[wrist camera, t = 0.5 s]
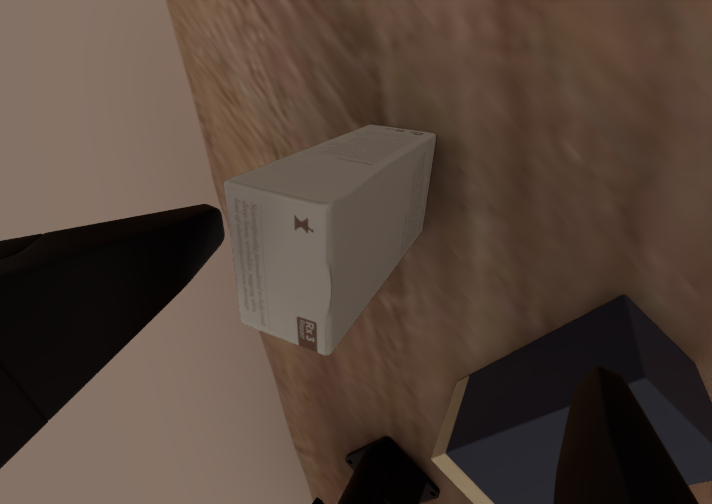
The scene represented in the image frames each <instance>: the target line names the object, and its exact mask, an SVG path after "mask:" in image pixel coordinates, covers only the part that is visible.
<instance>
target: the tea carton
mask: <svg viewBox="0 0 712 504" xmlns="http://www.w3.org/2000/svg"><path fill="white" fill-rule="evenodd" d="M596 366H602V367H604V368H607V369H609V370H611V371H614V372H616V373H619V374H620V375H621V376H622V377H623V378H624V379H625V381H626V382H627V384H628V386H629V388H630V389H631V391H632V393H633V394H634V396H635V398H636V399H637V401H638V403H639V404H640V406H641V408H642V409H643V411H644V413H645V414H646V416H647V418H648V419H649V421H650V423H651V424H652V426H653V428H654V429H655V431H656V433H657V434H658V436H659V438H660V440H661V441H662V443H663V445H664V446H665V448H666V450H667V451H668V453H669V455H670V456H671V458H672V460H673V461H674V463H675V465H676V466H677V468H678V470H679V471H680V473H681V475H682V476H683V478H684V480H685V481H686V483H687V485H692V484H697V483H702V482H707V481H712V402H711V400H710V397H709V395H708V393H707V390H706V388H705V386H704V383H703V381H702V379H701V376H700V374H699V372H698V369H697V367H696V365H695V363H694V362H693V361H692V360H691V359H690V358H689V357H688V356H687V355H686V354H685V353H684V352H683V351H682V350H681V349H680V348H679V347H678V346H677V345H676V344H675V343H674V342H673V341H672V340H671V339H669V338H668V337H667V336H666V335H665V334H664V333H663V332H662V331H661V330H660V329H659V328H658V327H657V326H656V325H655V324H654V323H653V322H652V321H651V320H650V319H649V318H648V317H647V316H646V315H645V314H644V313H643V312H642V311H641V310H640V309H639V308H638V307H637V306H636V305H635V304H634V303H633V302H632V301H631V300H630V299H629V298H628V297H627V296H626V295H622V296H620V297H619V298H617V299H615V300H613V301H611V302H609V303H607V304H605V305H603V306H601V307H599V308H597V309H596V310H594V311H592V312H590V313H588V314H586V315H584V316H582V317H580V318H578V319H576V320H575V321H573V322H571V323H569V324H567V325H565V326H563V327H561V328H559V329H557V330H555V331H554V332H552V333H550V334H548V335H546V336H544V337H542V338H540V339H538V340H536V341H534V342H533V343H531V344H529V345H527V346H525V347H523V348H521V349H519V350H517V351H515V352H513V353H512V354H510V355H508V356H506V357H504V358H502V359H500V360H498V361H496V362H494V363H492V364H491V365H489V366H487V367H485V368H483V369H481V370H479V371H477V372H475V373H473V374H471V375H470V376H467V377H466V378H464V379H462V380H460V381H458V382H457V383H456V386H455V389H454V392H453V395H452V398H451V401H450V404H449V407H448V409H447V412H446V415H445V418H444V421H443V424H442V427H441V430H440V433H439V436H438V439H437V442H436V444H435V447H434V450H433V453H432V456H431V460H432V461H433V462H434V463H435V464H436V465H437V466H438V467H439V469H440V470H441V471H442V472H443V473H444V474H445V475H446V476H447V477H448V478H449V479H450V480H451V481H452V482H453V483H454V484H455V485H456V486H457V487H458V488H459V489H460V490H461V491H462V492H463V493H464V494H465V495H466V496H467V497H468V498H469V500H470V501H471V502H472V503H473V504H553V503H554V490H555V479H556V471H557V466H558V460H559V456H560V451H561V446H562V441H563V437H564V432H565V427H566V423H567V418H568V413H569V408H570V404H571V399H572V396H573V393H574V391H575V390H576V388H577V387H578V386H579V384H580V383H581V382H582V381H583V380H584V378H585V377H586V376H587V375H588V373H589V372H590V371H591V370H592V369H593V368H594V367H596Z"/></svg>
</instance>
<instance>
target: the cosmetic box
mask: <svg viewBox="0 0 712 504" xmlns="http://www.w3.org/2000/svg"><path fill="white" fill-rule="evenodd" d="M435 143H436V134H434V133H429V132H422V131H415V130H409V129H401V128H394V127H387V126H379V125H367V126H365V127H363V128H360V129H358V130H355V131H352V132H349V133H346V134H344V135H342V136H339V137H336V138H334V139H331V140H328V141H326V142H323V143H321V144H318V145H316V146H313V147H310V148H308V149H305V150H303V151H300V152H297V153H294V154H292V155H289V156H287V157H284V158H282V159H279V160H276V161H274V162H271V163H269V164H266V165H264V166H262V167H259V168H256V169H253V170H250V171H248V172H245V173H242V174H240V175H237V176H234V177H232V178H230V179H228V180H226V181H225V182H224V190H225V197H226V205H227V213H228V221H229V229H230V236H231V245H232V252H233V260H234V268H235V276H236V284H237V292H238V300H239V308H240V318H241V322H242V323H243V324H245V325H247V326H250V327H252V328H255V329H257V330H259V331H262V332H265V333H267V334H270V335H273V336H275V337H278V338H281V339H283V340H286V341H288V342H291V343H294V344H297V345H299V346H302V347H305V348H307V349H310V350H313V351H316V352H318V353H320V354H322V355H326V356H327V355H330V354H331V353H332V352H333V350H334V349H335V348H336V346H337V345H338V344H339V342H340V341H341V340H342V338H343V337H344V336H345V334H346V333H347V332H348V330H349V329H350V328H351V326H352V325H353V324H354V322H355V321H356V320H357V318H358V317H359V316H360V314H361V313H362V312H363V310H364V309H365V308H366V306H367V305H368V303H369V302H370V301H371V299H372V298H373V297H374V295H375V294H376V293H377V291H378V290H379V289H380V287H381V286H382V285H383V283H384V282H385V281H386V279H387V278H388V276H389V275H390V274H391V272H392V271H393V270H394V268H395V267H396V266H397V264H398V263H399V262H400V260H401V259H402V258H403V256H404V255H405V253H406V252H407V251H408V250H409V248H410V247H411V246H412V244H413V243H414V242H415V240H416V239H417V238H418V236H419V235H420V233H421V232H422V230H423V223H424V216H425V210H426V203H427V196H428V189H429V183H430V176H431V169H432V163H433V156H434V150H435Z"/></svg>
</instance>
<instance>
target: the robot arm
mask: <svg viewBox="0 0 712 504" xmlns="http://www.w3.org/2000/svg"><path fill="white" fill-rule="evenodd" d="M224 234H225V233H224V227H223V220H222V214H221V212H220V210H219V209H217V208H215V207H213V206H210V205H207V204H201V205H196V206H190V207H185V208H179V209H174V210H168V211H163V212H157V213H152V214H146V215H141V216H135V217H130V218H125V219H119V220H114V221H108V222H103V223H97V224H92V225H86V226H81V227H75V228H70V229H65V230H59V231H54V232H48V233H45V234H38V235H31V236H26V237H21V238H14V239H9V240H3V241H0V468H1V467H3V466H4V464H6V463H7V462H8V461H9V460H10V459H11V458H12V457H13V456H14V455H15V454H16V453H17V452H18V451H19V450H20V449H21V448H22V447H23V446H24V445H25V444H26V443H27V442H28V441H29V440H30V439H31V438H32V437H33V436H34V435H35V434H36V433H37V432H38V431H39V430H40V429H41V428H42V427H43V426H44V425H45V424H46V423H47V422H48V420H50V419H51V418H52V417H53V416H54V415H55V414H56V413H57V412H58V411H59V410H60V409H61V408H62V407H63V406H64V405H65V404H66V403H67V402H68V401H69V400H70V399H71V398H73V397H74V396H75V395H76V394H77V392H79V391H80V390H81V389H82V388H83V387H84V386H85V385H86V384H87V383H88V382H89V381H90V380H91V379H92V378H93V377H94V376H95V375H96V374H97V373H98V372H99V371H100V370H101V369H102V368H103V367H104V366H105V365H106V364H107V363H108V362H109V361H110V360H111V359H112V358H113V357H114V356H115V355H116V354H117V353H118V352H119V351H120V350H121V349H122V348H123V347H124V346H125V345H127V344H128V343H129V342H130V340H132V339H133V338H134V337H135V336H136V335H137V334H138V333H139V332H140V331H141V330H142V329H143V328H144V327H145V326H146V325H147V324H148V323H149V322H150V321H151V320H152V319H153V318H154V317H155V316H156V315H157V314H158V313H159V312H160V311H161V310H162V309H163V308H164V307H165V306H166V305H167V304H168V303H169V302H170V301H171V300H172V299H173V298H174V297H175V296H176V295H177V294H179V292H181V291H182V289H183V288H184V287H185V286H186V285H187V284H188V283H189V282H190V281H191V279H193V277H194V276H195V275H196V274H197V273H198V271H199V270H200V269H201V268H202V267H203V265H204V264H205V263H206V262H207V261H208V259H209V258H210V257H211V256H212V255H213V253H214V252H215V251H216V250H217V249H218V247H219V246H220V245H221V244H222V242H223V240H224ZM345 461H346V463H347V464H348V465H349V466H350V467H351V468H352V469H353V470H354V473H353V475H352V477H351V479H350V481H349V483H348V485H347V486H346V488H345V490H344V492H343V494H342V496H341V498H340V500H339V502H338V504H420V503H422V502H425V501H429V500H432V499H436V498H438V497H439V493H440V490H439V489H438V487H437V486H436V485H435V484H434V483H433V482H432V481H431V480H430V479H429V478H428V477H427V476H426V475H425V474H424V473H423V472H422V471H421V470H420V469H419V468H418V467H417V466H416V465H415V464H414V463H413V462H412V460H411V459H410V458H409V457H408V456H407V455H406V454H405V453H404V452H403V451H402V450H401V449H400V448H399V447H398V446H397V445H396V444H395V443H394V442H393V441H392V440H391V439H390V438H388V437H383V438H381V439H379V440H377V441H375V442H373V443H371V444H369V445H367V446H365V447H363V448H361V449H358V450H356V451H354V452H352V453H350V454H348V455H347V457H346V459H345ZM312 504H324V503H323V501H322V500H320V499H319V498H316V499H315V500H314V502H313V503H312ZM553 504H699V503H698V502H697V500H696V498H695V497H694V495H693V493H692V492H691V490H690V488H689V486H688V485H687V483H686V481H685V480H684V478H683V476H682V475H681V473H680V471H679V470H678V468H677V466H676V465H675V463H674V461H673V460H672V458H671V456H670V455H669V453H668V451H667V450H666V448H665V446H664V445H663V443H662V441H661V440H660V438H659V436H658V434H657V433H656V431H655V429H654V428H653V426H652V424H651V423H650V421H649V419H648V418H647V416H646V414H645V413H644V411H643V409H642V408H641V406H640V404H639V403H638V401H637V399H636V398H635V396H634V394H633V393H632V391H631V389H630V388H629V386H628V384H627V382H626V381H625V379H624V378H623V377H622V376H621V375H620V374H619V373H616V372H614V371H611V370H609V369H607V368H604V367H602V366H596V367H594V368H593V369H592V370H591V371H590V372H589V373H588V375H587V376H586V377H585V378H584V380H583V381H582V382H581V383H580V384H579V386H578V387H577V388H576V390H575V391H574V393H573V396H572V399H571V404H570V408H569V413H568V418H567V423H566V427H565V432H564V437H563V441H562V446H561V451H560V456H559V460H558V466H557V471H556V479H555V490H554V503H553Z"/></svg>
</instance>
